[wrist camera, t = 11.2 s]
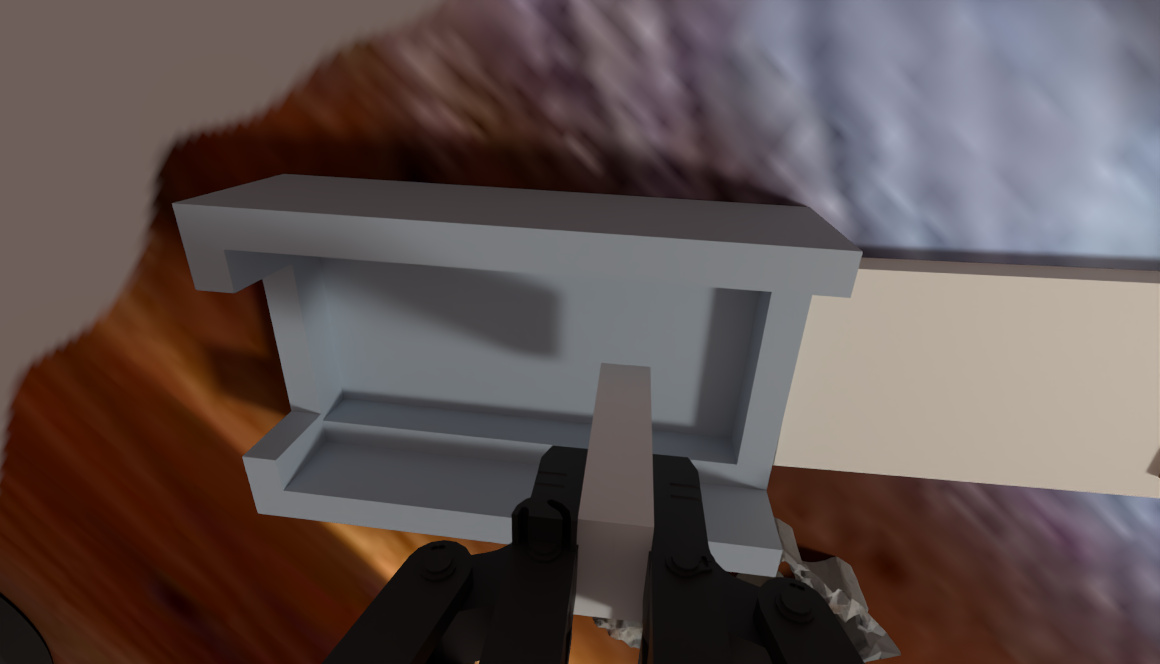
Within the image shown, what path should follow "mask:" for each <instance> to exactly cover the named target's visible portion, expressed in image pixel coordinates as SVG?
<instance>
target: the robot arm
mask: <svg viewBox="0 0 1160 664" xmlns="http://www.w3.org/2000/svg"><path fill="white" fill-rule="evenodd" d="M511 515H512V542H511V543H510V544H508V545H507V546H505V547H503V548H501V549H499V550H495V551H492V552H487V553H481V554H475V555H471V554H470V553H469V551H468V550H467V549H466V547H464V546H462V545H461V544H459V543H457V542H453V541H446V540H442V541H436V542H430V543H428V544H426V545H424V546H422V547H420V548H418V549H417V550H416V551H415V552H414V553H413V554H411V555H410V556H409V557H408V559H407V560H406V561H405V562H404V563H403V565H402V566H401V567H400V568H399V570H398V571H397V572H396V573H395V575H394V576H393V577H392V578H391V579H390V581H389V582H388V583H387V584H386V586H385V587H384V588H383V589H382V590H381V592H380V593H379V594H378V595H377V597H376V598H375V599H374V600H373V601H372V603H371V604H370V605H369V606H368V608H367V609H366V610H365V611H364V612H363V614H362V615H361V616H360V617H359V619H358V620H357V621H356V622H355V624H354V625H353V626H352V627H351V628H350V630H349V631H348V632H347V633H346V635H345V636H344V637H343V638H342V639H341V641H340V642H339V643H338V644H337V646H336V647H335V648H334V649H333V650H332V652H331V653H330V654H329V655H328V657H327V658H326V659H325V660H324V662H323V663H322V664H474V663H475V661H479V664H568V662H569V654H570V646H571V638H572V621H573V614H577V615H585V616H593V617H601V618H609V619H618V620H626V621H634V622H642V617H643V630H642V638H641V645H640V653H639V660H638V664H865V663H864V661H863V660H862V658H861V656H860V655H859V653H858V652H857V650H856V648H855V647H854V645H853V643H852V642H851V640H850V639H849V637H848V635H847V634H846V632H845V630H844V629H843V627H842V626H841V624H840V622H839V621H838V619H837V618H836V616H835V614H834V613H833V611H832V609H831V608H830V606H829V605H828V603H827V602H826V601H825V599H824V598H823V597H822V596H821V595H820V594H819V592H817V591H816V590H815V589H813V588H812V587H810V586H809V585H807V584H806V583H804V582H801V581H798V580H796V579H793V578H786V577H776V578H773V579H769V580H767V581H766V582H765V583H764V584H763V585H762V586H761V587H759V586H756V585H754V584H751V583H748V582H746V581H743V580H741V579H739V578H737V577H735V576H733V575H731V574H729V573H728V572H727V571H725V570H724V569H722V567H721V566H720V565H719V564H718V563H717V562H716V561H715V558H714V557H713V556H712V554H711V552H710V549H709V545H708V538H707V531H706V523H705V516H704V509H703V502H702V495H701V489H700V480H699V473H698V470H697V469H696V467H695V466H694V465H693V463H692V462H691V460H690V459H689V458H688V457H680V456H670V455H660V454H652V414H651V371H650V367H645V366H633V365H622V364H610V363H601V367H600V374H599V380H598V387H597V394H596V401H595V407H594V414H593V421H592V427H591V434H590V441H589V447H588V449H585V448H575V447H565V446H554V445H552V446H551V448H550V449H549V450H548V451H547V452H546V453H545V454H544V455H543V456H542V457H541V460H540V464H539V468H538V473H537V475H536V479H535V484H534V486H533V490H532V494H531V497H530V498H527V499H525V500H523V501H522V502H521V503H519V504H518V505H517V506H516V507H515V509H514V511H513V512H512V514H511ZM0 664H53V663H52V660H51V657H50V655H49V652H48V650H47V648H46V647H45V645H44V643H43V642H42V640H41V639H40V637H39V636H38V634H37V633H36V632H35V630H34V629H33V628H32V627H31V626H30V625H29V623H28V622H27V621H26V620H25V619H24V618H23V617H22V616H21V615H20V614H19V613H18V612H17V611H16V610H15V609H14V608H13V607H12V606H10V605H9V604H8V603H7V602H6V601H5V600H3V599H2V598H1V597H0Z"/></svg>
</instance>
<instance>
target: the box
mask: <svg viewBox="0 0 1160 664" xmlns="http://www.w3.org/2000/svg"><path fill="white" fill-rule="evenodd" d="M172 206H173V210H174V213H175V217H176V220H177V224H178V228H179V231H180V235H181V238H182V242H183V245H184V249H185V253H186V256H187V260H188V263H189V267H190V271H191V274H192V278H193V281H194V285H195V289H196V290H204V291H215V292H227V293H236V292H238V291H240V290H241V289H243V288H245V287H247V286H249V285H251V284H253V283H255V282H257V281H259V280H261V279H263V284H264V288H265V293H266V298H267V302H268V307H269V311H270V316H271V320H272V325H273V329H274V334H275V338H276V343H277V347H278V352H279V356H280V361H281V366H282V370H283V375H284V379H285V384H286V388H287V393H288V397H289V402H290V406H291V412H290V413H289V414H288V415H287V416H286V417H284V418H283V419H282V420H281V421H280V422H279V423H278V424H277V425H276V426H275V427H274V428H273V429H271V430H270V431H269V432H268V433H267V434H266V435H265V436H264V437H263V438H262V439H261V440H260V441H259V442H257V443H256V444H255V445H254V446H253V447H252V448H251V449H250V450H249V451H248V452H247V453H246V454H244V455H243V456H242V458H243V461H244V465H245V468H246V472H247V476H248V479H249V483H250V486H251V490H252V494H253V497H254V501H255V504H256V508H257V512H258V513H261V514H269V515H277V516H285V517H293V518H301V519H309V520H317V521H325V522H333V523H341V524H349V525H357V526H365V527H374V528H382V529H390V530H398V531H406V532H414V533H422V534H430V535H438V536H446V537H454V538H462V539H470V540H478V541H487V542H495V543H503V544H510V543H511V542H512V515H511V514H512V512H513V511H514V509H515V507H516V506H517V505H518V504H519V503H521V502H522V501H523V500H525V499H527V498H530V497H531V494H532V490H533V486H534V484H535V479H536V475H537V473H538V468H539V464H540V460H541V457H542V456H543V455H544V454H545V453H546V452H547V451H548V450H549V449H550V448H551V446H552V445H554V446H565V447H575V448H585V449H588V447H589V441H590V434H591V427H592V421H593V414H594V407H595V401H596V394H597V387H598V380H599V374H600V367H601V363H610V364H622V365H633V366H645V367H650V371H651V414H652V454H660V455H670V456H680V457H688V458H689V459H690V460H691V462H692V463H693V465H694V466H695V467H696V469H697V470H698V473H699V480H700V489H701V495H702V502H703V509H704V516H705V523H706V531H707V538H708V545H709V549H710V552H711V554H712V556H713V557H714V558H715V561H716V562H717V563H718V564H719V565H720V566H721V567H722V569H724V570H725V571H729V572H737V573H745V574H753V575H761V576H769V577H776V574H777V570H778V566H779V562H780V559H781V555H782V551H783V549H782V546H781V542H780V539H779V535H778V531H777V528H776V524H775V520H774V517H773V513H772V509H771V506H770V502H769V499H768V495H767V491H766V489H767V485H768V481H769V476H770V472H771V468H772V464H773V460H774V455H775V451H776V447H777V443H778V438H779V434H780V430H781V426H782V421H783V417H784V413H785V409H786V404H787V400H788V396H789V392H790V387H791V383H792V379H793V375H794V371H795V366H796V362H797V358H798V354H799V349H800V345H801V341H802V337H803V332H804V328H805V324H806V320H807V315H808V311H809V307H810V303H811V298H812V295H818V296H831V297H844V298H851V294H852V291H853V287H854V283H855V279H856V276H857V272H858V268H859V264H860V261H861V257H862V253H863V251H862V250H860V249H859V248H858V247H857V246H856V245H854V244H853V243H852V242H851V241H850V240H848V239H847V238H846V237H845V236H844V235H842V234H841V233H840V232H839V231H838V230H836V229H835V228H834V227H833V226H832V225H830V224H829V223H828V222H827V221H826V220H824V219H823V218H822V217H821V216H820V215H818V214H817V213H816V212H815V211H814V210H812V209H811V208H810V207H801V206H785V205H769V204H753V203H737V202H722V201H706V200H690V199H674V198H658V197H642V196H627V195H611V194H595V193H579V192H563V191H548V190H532V189H516V188H500V187H484V186H468V185H453V184H437V183H421V182H405V181H389V180H373V179H358V178H342V177H326V176H310V175H294V174H281V175H277V176H274V177H270V178H266V179H262V180H258V181H255V182H251V183H247V184H243V185H239V186H236V187H232V188H228V189H224V190H221V191H217V192H213V193H209V194H205V195H202V196H198V197H194V198H190V199H186V200H183V201H179V202H175V203H172Z"/></svg>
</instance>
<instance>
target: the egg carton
mask: <svg viewBox="0 0 1160 664" xmlns="http://www.w3.org/2000/svg"><path fill="white" fill-rule="evenodd" d="M774 520H775V524H776V528H777V531H778V535H779V539H780V542H781V546H782V549H783V551H782V555H781V559H780V562H779V564H780V563H781V562H783V561H786V562H788V563H789V565H790V569H791V570H792V572H794V575H795V579H796V580H798V581H801V582H804V583H806V584H807V585H809V586H810V587H812V588H813V589H815V590H816V591H817V592H819V594H820V595H821V596H822V597H823V598H824V599H825V601H826V602H827V603H828V605H829V606H830V608H831V609H832V611H833V613H834V614H835V616H836V618H837V619H838V621H839V622H840V624H841V626H842V627H843V629H844V630H845V632H846V634H847V635H848V637H849V639H850V640H851V642H852V643H853V645H854V647H855V648H856V650H857V652H858V653H859V655H860V656H861V658H862V660H863V661H864V663H865V662H866V661H872V660H877V659H883V658H889V657H894V656H898V655H901V653H900V651H899V649H898V648H897V646H896V645H895V644H894V642H893V641H892V640H891V638H890V637H889V636H888V634H887V633H886V632H885V631H884V630H883V629H882V627H881V626H880V625H879V624H878V623H877V622H876V621H875V620H874V619H873V618H872V617H871V616H870V615H869V614H868V608H867V605H866V602H865V599H864V596H863V594H862V592H861V590H860V587H859V584H858V581H857V578H856V576H855V574H854V572H853V570H852V567H851V566H850V565H849V564H848V563H846V562H844V561H843V560H841V559H840V558H838V557H832V558H829V559H827V560H824V561H819V562H805V561H802V560H801V557H800V554H799V551H798V548H797V544H796V541H795V537H794V534H793V529H792V528H791V527H790V526H789V525H787V524H786V523H784V522H782V521H781V520H779V519H778V518H775V517H774ZM736 577H737V578H739V579H741V580H743V581H746V582H748V583H751V584H754V585H756V586H759V587H761V586H762V585H763V584H764V583H765V582H766V581H767V580H769V579H773V578H776V577H784V576H783V575H782V574H781V573H780V572H779V571H777V574H776V577H769V576H761V575H753V574H745V573H738V574H737V576H736ZM593 620H594V621H595V624H596V625H597V627H601V628H606V629H607V631H608V634H609V635H610V636H611V637H613V638H615V639H617V640H623V641H625V642H626V643H627V644H628V645H629V646H630V647H636V648H639V649H640V645H641V638H642V630H643V617H642V622H634V621H626V620H618V619H609V618H601V617H593Z"/></svg>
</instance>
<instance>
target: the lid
mask: <svg viewBox="0 0 1160 664" xmlns="http://www.w3.org/2000/svg"><path fill="white" fill-rule="evenodd" d="M773 464H774V465H778V466H790V467H801V468H813V469H825V470H836V471H848V472H860V473H872V474H883V475H895V476H907V477H918V478H930V479H942V480H953V481H965V482H977V483H988V484H1000V485H1012V486H1023V487H1035V488H1047V489H1058V490H1070V491H1082V492H1093V493H1105V494H1117V495H1128V496H1140V497H1152V498H1160V271H1148V270H1126V269H1104V268H1082V267H1060V266H1038V265H1016V264H994V263H972V262H950V261H928V260H906V259H884V258H862V257H861V261H860V264H859V268H858V272H857V276H856V279H855V283H854V287H853V291H852V294H851V298H844V297H831V296H818V295H812V298H811V303H810V307H809V311H808V315H807V320H806V324H805V328H804V332H803V337H802V341H801V345H800V349H799V354H798V358H797V362H796V366H795V371H794V375H793V379H792V383H791V387H790V392H789V396H788V400H787V404H786V409H785V413H784V417H783V421H782V426H781V430H780V434H779V438H778V443H777V447H776V451H775V455H774V460H773Z"/></svg>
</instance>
